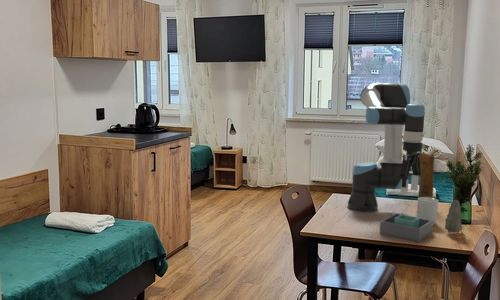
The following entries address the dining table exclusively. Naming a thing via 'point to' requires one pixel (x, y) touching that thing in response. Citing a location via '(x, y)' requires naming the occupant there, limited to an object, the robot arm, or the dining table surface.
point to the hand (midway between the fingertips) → (409, 192)
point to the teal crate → (407, 220)
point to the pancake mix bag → (426, 176)
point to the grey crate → (406, 229)
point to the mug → (427, 208)
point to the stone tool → (454, 218)
